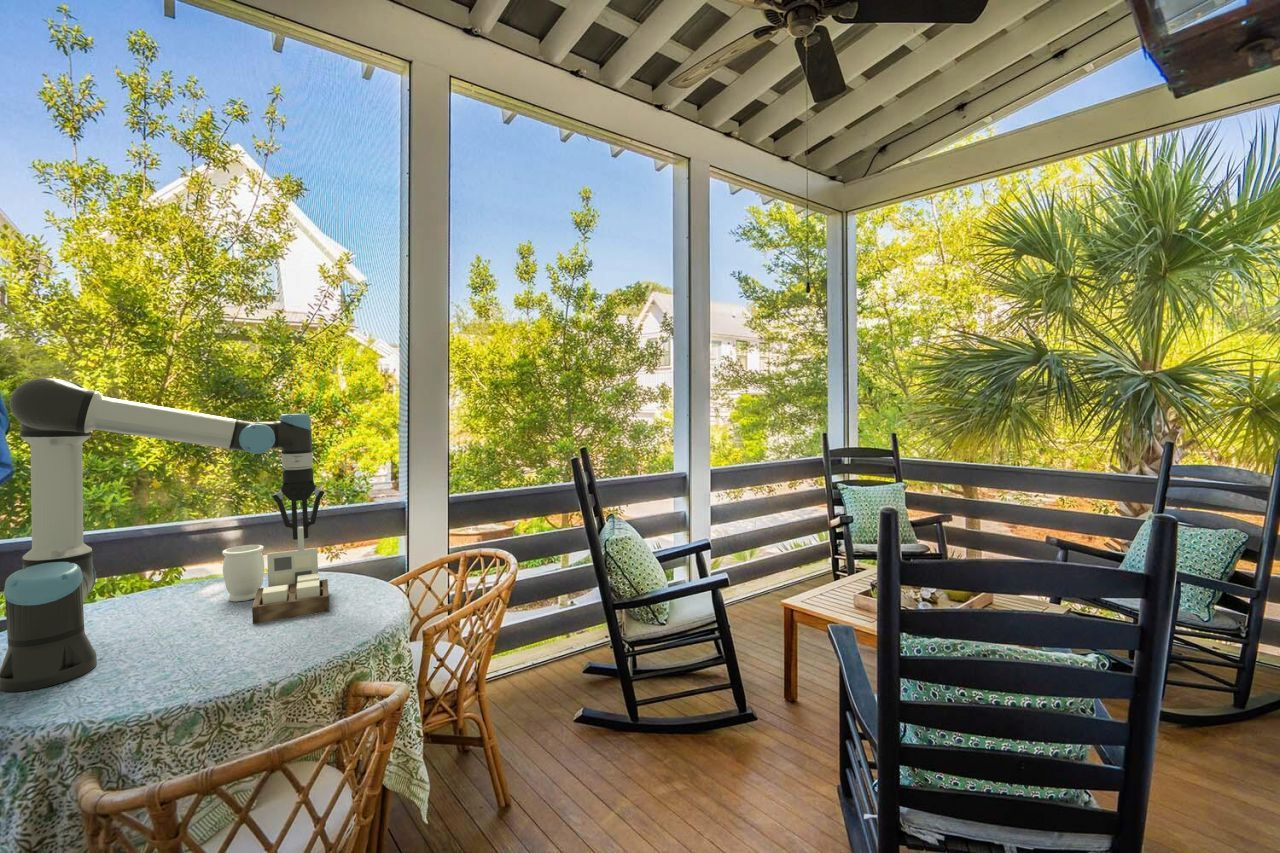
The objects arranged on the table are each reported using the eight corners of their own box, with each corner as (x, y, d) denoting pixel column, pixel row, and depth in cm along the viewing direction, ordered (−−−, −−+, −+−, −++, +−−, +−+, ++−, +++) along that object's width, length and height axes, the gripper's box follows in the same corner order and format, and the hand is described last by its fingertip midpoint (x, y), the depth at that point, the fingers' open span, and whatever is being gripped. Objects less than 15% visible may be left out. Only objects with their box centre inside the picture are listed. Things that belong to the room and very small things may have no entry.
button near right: (296, 602, 162) (296, 588, 161) (297, 596, 167) (296, 583, 166) (319, 599, 164) (319, 585, 164) (319, 593, 169) (319, 580, 169)
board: (252, 623, 155) (252, 607, 155) (258, 603, 171) (257, 588, 170) (329, 611, 164) (328, 596, 163) (327, 593, 179) (327, 579, 179)
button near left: (262, 608, 158) (262, 593, 158) (264, 601, 163) (263, 587, 162) (286, 604, 160) (286, 590, 160) (287, 598, 165) (287, 584, 165)
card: (268, 600, 173) (267, 554, 172) (269, 599, 174) (267, 553, 173) (318, 593, 179) (317, 548, 179) (318, 592, 180) (317, 547, 180)
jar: (272, 595, 178) (270, 547, 177) (234, 605, 169) (232, 554, 168) (255, 589, 183) (253, 542, 183) (217, 599, 175) (215, 549, 174)
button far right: (297, 594, 169) (297, 580, 168) (298, 589, 173) (297, 575, 173) (319, 591, 171) (319, 577, 171) (319, 586, 176) (319, 573, 176)
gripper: (270, 471, 158) (274, 556, 159) (324, 467, 165) (327, 549, 166) (271, 468, 164) (274, 550, 166) (323, 465, 171) (326, 544, 172)
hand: (301, 550), depth 166 cm, fingers closed
